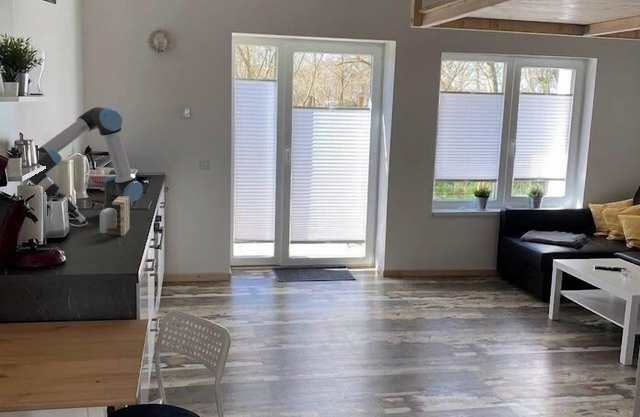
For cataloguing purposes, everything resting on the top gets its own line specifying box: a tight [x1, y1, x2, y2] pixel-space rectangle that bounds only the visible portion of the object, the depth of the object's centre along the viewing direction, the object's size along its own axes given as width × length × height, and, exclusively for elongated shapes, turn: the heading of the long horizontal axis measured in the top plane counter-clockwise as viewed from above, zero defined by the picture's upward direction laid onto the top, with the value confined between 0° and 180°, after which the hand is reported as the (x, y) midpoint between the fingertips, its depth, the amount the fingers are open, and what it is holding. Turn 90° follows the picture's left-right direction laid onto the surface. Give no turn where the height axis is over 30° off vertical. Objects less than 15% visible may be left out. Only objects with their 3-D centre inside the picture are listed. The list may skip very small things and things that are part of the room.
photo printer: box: [99, 208, 118, 234], centre depth 322 cm, size 10×4×12 cm, turn 160°
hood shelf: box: [106, 196, 131, 237], centre depth 322 cm, size 18×8×17 cm, turn 8°
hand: (83, 220), depth 320 cm, fingers closed
